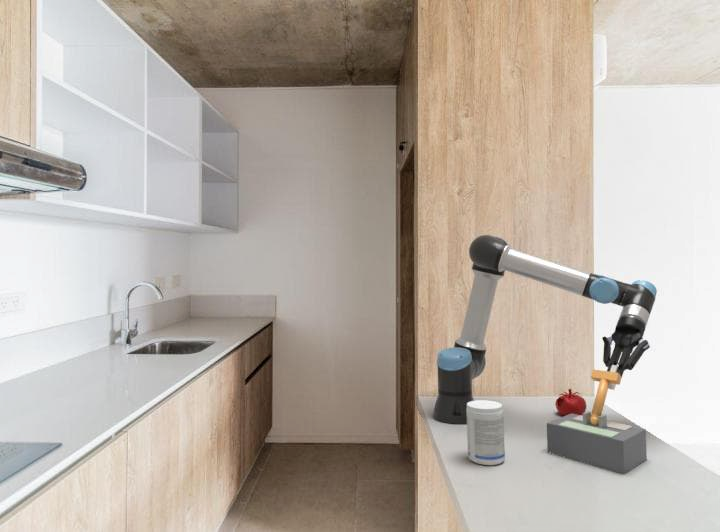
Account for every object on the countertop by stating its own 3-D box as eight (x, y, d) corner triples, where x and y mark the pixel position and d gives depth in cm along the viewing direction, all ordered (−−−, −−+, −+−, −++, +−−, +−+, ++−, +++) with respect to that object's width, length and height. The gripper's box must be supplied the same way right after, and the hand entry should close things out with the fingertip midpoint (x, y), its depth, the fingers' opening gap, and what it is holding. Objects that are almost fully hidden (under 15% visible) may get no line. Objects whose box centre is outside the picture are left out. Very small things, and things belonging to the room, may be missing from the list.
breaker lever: (579, 419, 130) (592, 368, 136) (582, 423, 132) (596, 372, 138) (605, 425, 125) (618, 372, 131) (608, 429, 126) (621, 376, 132)
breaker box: (547, 452, 132) (546, 411, 132) (572, 440, 141) (571, 402, 141) (624, 474, 116) (622, 428, 117) (646, 459, 125) (645, 416, 125)
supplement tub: (512, 461, 126) (511, 405, 126) (487, 469, 120) (486, 411, 121) (484, 450, 134) (483, 397, 134) (460, 457, 129) (458, 403, 129)
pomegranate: (588, 413, 168) (587, 387, 168) (584, 421, 160) (583, 393, 160) (558, 410, 173) (557, 384, 174) (553, 416, 165) (552, 389, 165)
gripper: (659, 332, 142) (638, 398, 131) (613, 329, 152) (591, 390, 141) (652, 316, 139) (630, 382, 128) (606, 314, 149) (582, 375, 138)
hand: (609, 386), depth 135 cm, fingers closed
